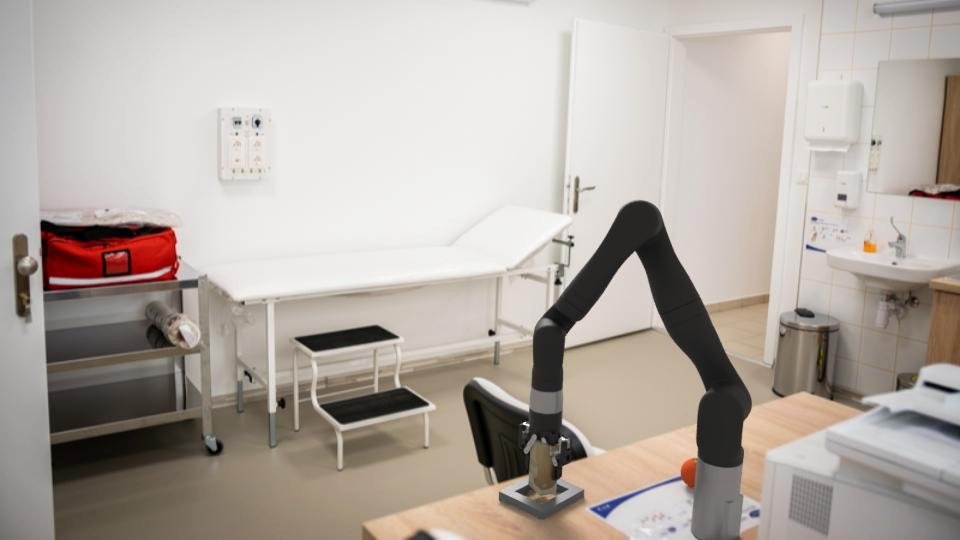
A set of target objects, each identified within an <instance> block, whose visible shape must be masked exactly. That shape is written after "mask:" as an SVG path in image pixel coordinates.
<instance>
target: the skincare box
mask: <svg viewBox="0 0 960 540" xmlns="http://www.w3.org/2000/svg"><path fill="white" fill-rule="evenodd" d="M559 445H560V443H559V444H556V445H555V446H551V445H550V448H551V449H552V451H553V452H554V451H559ZM548 455H549V446H547V445H543V443H542V442H541V441H539V440H536V441H535V442H534V444H533V446H532V448H531V450H530V463H529V469H528V477H529V480H528V484H529V485H530V487H531V488H532V489H533V490H532V491H534V492H535V493H536V494H537V495H539V496H540V497H544V496H548V495H554V494H557V492H556V489H557V481H554V480H552V471H553V465H554V464H553V462H552V459H551V457H549V456H548ZM558 457H559V454H556V458H557V460H558Z"/></svg>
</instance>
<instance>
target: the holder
mask: <svg viewBox="0 0 960 540" xmlns="http://www.w3.org/2000/svg"><path fill="white" fill-rule="evenodd" d="M528 480H529V476H527V477H525V478H523V479H521V480H519V481H517V482H514V483H513V484H511V485H509V486H507V487H505V488H503V489H500V490H499V491H498V500H500V501H502V502H504V503H506V504H508V505H510V506H512V507H514V508H516V509H518V510H520V511H521V512H522V511H523V512H525V513H526V514H528V515H530V516H532V517H535V518H537V519H539V520H541V521H545V520H546V519H549V518H550V517H551V516H554V515H555V514H558V513H559V512H561V511H563V510H564V509H565V508H568V507H570V506H571V505H573V504H575V503H576V501H577V502H578V501H580V500H581V498H582V499H583V497H584V498H585V489H584V488H583V487H580V486H578V485H576V484H573V483H570V482H568V481H566V480H564V479H561V478H560V479H559V480H557V489H556V491H557V492H556V493H559V494H558V495H555V496H554V497H551V498H550V499H549V500H546V501H544V502H542V503H541V502H539V501H536V500H534V499H532V498H530V497H528V496H526V494H527V492H528V493H529V492H531V491H533V490H532V488H531V487H530V485H529V484H528ZM530 490H531V491H530ZM525 493H526V494H525ZM523 494H524V495H523Z"/></svg>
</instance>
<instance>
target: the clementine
mask: <svg viewBox="0 0 960 540" xmlns="http://www.w3.org/2000/svg"><path fill="white" fill-rule="evenodd" d="M696 466H697V457H691V458H689V459H687V460H685V461H684V462H683V463H682V465H681V467H680V471H679V472H680V477H681V479H682V481H683V483H685V485H687V486H688V487H690V488H693V489H694V488H695V476H696Z"/></svg>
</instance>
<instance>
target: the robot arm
mask: <svg viewBox="0 0 960 540" xmlns="http://www.w3.org/2000/svg"><path fill="white" fill-rule="evenodd" d="M634 253H636V255H637V257H638V259H639V260H640V262H641V265H642V266H643V269H644V272H645V274H646V277H647V281H648V285H649V289H650V293H651V297H652V299H653V302H654V306H655V308H656V311H657V313H658V315H659V318H660V319H661V321H662V324H663V325H664V328H665V330H666V332H667V333H668V335H669V337H670V338H671V340H672V341H673V342H674V344H675V345H676V346H677V347H678V348H679V350H681V351H682V352H683V354H685V356H687V357H688V359H689V360H690V361H691V363H692V364H693V365H694V366H695V367H694V368H696V371H697V373H698V375H699V377H700V378H701V382H702V384H703V387H704V390H705V393H704V394H703V395H702V397H701V398H700V400H699V403H698V407H697V415H696V416H697V418H696V419H697V420H696V435H695V441H696V442H695V444H696V446H697V447H696V448H697V456H696V458H697V466H696V476H695V488H693V490H694V491H693V500H692V512H691V513H692V514H691V521H690V522H691V523H690V531H691V533H692V534H693V535H694V536H695V537H696V538H698V539H699V540H736V539H737V538H738V537H740V535H741V533H740V532H741V527H742V526H741V524H742V523H741V522H742V515H743V505H744V494H742V493H741V487H742V486H741V485H742V475H743V466H744V459H745V450H744V447H743V446H742V445H743V443H742V442H743V441H742V440H743V431H744V430H743V429H744V423H745V420H747V418H748V417H749V416H750V414H751V411H752V408H753V401H752V400H753V399H752V396H751V393H750V392H749V390H748V388H747V386H746V384H745V383H744V380H742V378H741V376H740V374H739V373H738V371H737V370H736V368H735V367H734V365H733V363H732V362H731V360H730V358H729V357H728V354H727V353H726V350H725V348H724V346H723V343H722V341H721V339H720V336H719V334H718V332H717V331H716V328H715V326H714V324H713V321H712V319H711V317H710V315H709V312H708V310H707V308H706V306H705V304H704V302H703V299H702V298H701V295H700V294H699V291H698V290H697V288H696V286H695V284H694V283H693V281H692V279H691V277H690V276H689V274H688V272H687V270H686V268H685V267H684V266H683V264H682V262H681V261H680V260H679V257H678V256H677V253H676V252H675V249H674V247H673V244H672V241H671V239H670V236H669V233H668V231H667V228H666V224H665V221H664V218H663V215H662V212H661V210H660V209H659V208H658V206H656V205H655V204H653V203H652V202H650V201H647V200H643V199H634V200H630V201H628V202H626V203H624V204H623V205H622V206H621V207H620V208H619V210H618V212H617V214H616V217H615V218H614V220H613V222H612V224H611V225H610V227H609V230H608V231H607V232H606V235H605V237H603V239H602V241H601V243H600V244H599V245H598V247H597V249H596V250H595V251H594V253H593V254H592V256H591V257H589V259H588V261H587V262H586V263H585V264H584V265H583V266H582V268H581V269H580V270H579V271H578V273H576V275H575V276H574V277H573V279H571V281H570V282H569V284H568V285H567V286H566V287H565V288H564V290H563V292H562V293H561V294H560V295H559V297H558V298H557V300H556V301H555V303H553V304H552V305H551V306H550V307H549V309H547V310H546V311H545V313H544V314H543V315H542V316H541V317H540V319H539V320H537V322H536V324H535V326H534V329H533V336H532V363H533V364H532V369H531V383H530V384H531V385H530V392H529V405H528V421H525V422H522V423H519V424H518V431H517V432H518V435H517V437H518V438H517V446H518V449H520V450H523V453H524V455H525V456H524V465H525V469H527V470H529V463H530V450H531V448H532V446H533V444H534V442H535V441H536V440H539V441H541V442H542V443H543V445H547V446H549V455H548V456H549V457H551V459H552V462H553V464H554V465H553V471H552V480H554V481H557V480H559V479H561V478H563V477H562V476H563V467H565V466H566V465H569V464H570V463H571V461H572V448H573V440H572V438H570V437H569V438H565V437H563V436H562V434H561V428H562V426H563V413H564V412H563V409H564V391H563V390H564V365H563V364H564V359H565V358H564V356H565V346H566V336H568V333H569V332H570V331H571V330H572V329H573V328H574V326H576V324H577V322H580V321H582V320H583V319H585V317H586V316H587V314H588V313H589V312H590V311H591V310H592V308H593V307H594V306H595V305H596V303H597V302H598V301H599V299H600V298H601V297H602V295H603V294H604V293H605V291H606V289H607V288H608V286H609V285H610V283H611V282H612V280H613V278H614V277H615V275H616V274H617V272H618V271H619V269H620V268H621V267H622V266H623V265H624V263H625V262H626V261H627V260H628V259H629V258H630V257H631V256H632V255H633V254H634ZM556 444H559V451H554V452H553V451H552V449H551V448H550V445H551V446H555V445H556ZM556 454H559V457H558V460H557V458H556Z"/></svg>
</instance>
